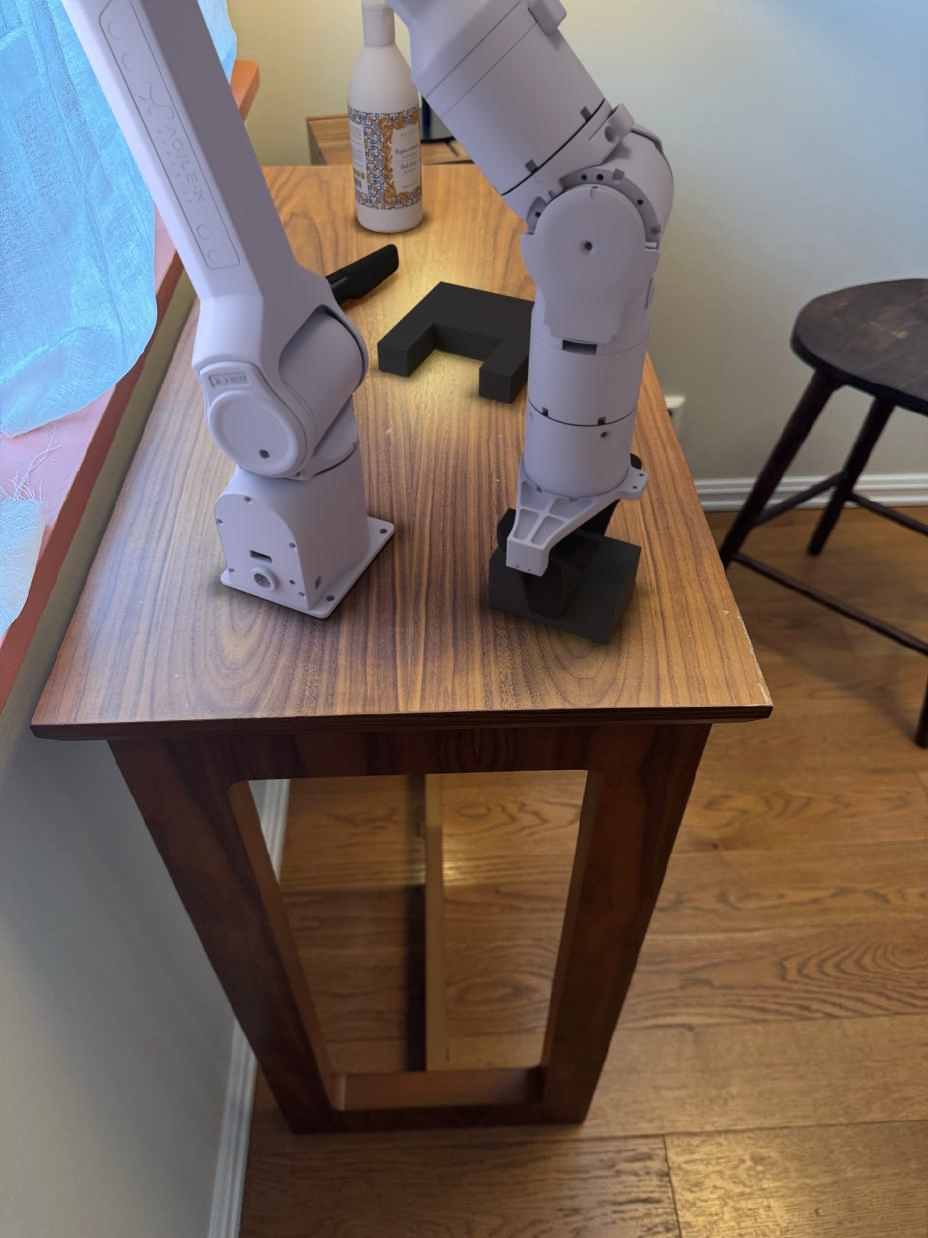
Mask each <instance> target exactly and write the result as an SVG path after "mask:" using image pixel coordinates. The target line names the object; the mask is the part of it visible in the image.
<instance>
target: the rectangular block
mask: <svg viewBox="0 0 928 1238" xmlns="http://www.w3.org/2000/svg"><path fill="white" fill-rule="evenodd" d="M573 533H574V534H578V535H581V536H585V537H588V538H591V539H595V540H598V541H602V544H601V546H600V548H599V550H598V551H597V553H596V555H595V557H594V559H593V560H592V562H591V563H590V564H589V566H588V567H587V568H586V569H585V571H583V572H582V573H581V574H580V575H579V577H578V579H577V582H576V585H575V588H574V592H573V595H572V598H571V601H570V603H569V606H568V608H567V610H566V612H565V613H564V615H563V617H562V619H561V620H560V621H557V620H554V619H550V618H547V617H544V616H541V615H538V614H535V613H532V612H530V610H529V607H528V604H527V601H526V598H525V594H524V590H523V587H522V583H521V580H520V578H519V575H518V572H517V570H516V569H515V568H512V567H509V566H507V565H506V559H507V555H506V553H505V552H504V551H503V550H502V549H501V548H500V547H499V546H498V545H497V547H496V548H495V550H494V551H493V553H492V554H491V556H490V557H489V558H488V582H487V583H488V584H487V585H488V586H487V587H488V588H487V589H488V591H487V592H488V593H487V606H489V607H491V608H494V609H497V610H500V611H502V612H506V613H509V614H512V615H515V616H519V617H522V618H524V619H527V620H530V621H533V622H537V623H539V624H542V625H546V626H549V627H552V628H555V629H557V630H561V631H564V632H567V633H570V634H573V635H577V636H579V637H582V638H586V639H589V640H592V641H595V642H597V643H601V644H604V645H609V644H610V643H611V640H612V638H613V636H614V634H615V632H616V630H617V628H618V625H619V624H620V621H621V619H622V617H623V615H624V613H625V611H626V609H627V606H628V605H629V603H630V600H631V598H632V596H633V595H634V590H635V585H636V579H637V574H638V569H639V564H640V558H641V554H642V546H641V545H637V544H634V543H631V542H628V541H624V540H620V539H617V538H614V537H611V536H607V535H605V536H604V535H600V534H597V533H593V532H590V531H586V530H583V529H580V528H576V529H575V530H573Z"/></svg>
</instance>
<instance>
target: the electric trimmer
mask: <svg viewBox="0 0 928 1238" xmlns="http://www.w3.org/2000/svg"><path fill="white" fill-rule="evenodd" d="M399 267H400V256H399V250H398V247H397V246H396V244H395V243H394V244H393V243H389V244H386V245H385V246H382V247H381V248H379V249H377V250H375V251H373V252H371V253H369V254H367V255H365V256H363V257H361V258H359V259H357V260H355V261H353V262H351V263H350V264H348V265H345V266H343V267H341V268H339V269H337V270H335V271H334V272H332V273H329V274H327V275H326V276H324V277H325V278H326V279H327V280H328V283H329V285H330V288H331V291H332V294H333V296H334V298H335V300H336V302H337V304H338V306H339V307H340V306H341V305H343V304H345V303H346V302H348V301H358V300H361V299H364V297H366V296H367V295H369V294H370V293H371V292H372V291H374V290H375V289H376V288H377V287H379V286H380V285H381V284H382V283H383V282H384V281H386V280H387V279H388V278H389V277H391V276H392V275H393V274H394V273H396V272H397V271H398V269H399Z"/></svg>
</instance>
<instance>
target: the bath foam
mask: <svg viewBox="0 0 928 1238" xmlns="http://www.w3.org/2000/svg"><path fill="white" fill-rule="evenodd" d="M360 5H361V20H362V33H363V46H362V48H361V49H360V52H359V54H358V56H357V58H356V60H355V63H354V65H353V67H352V70H351V72H350V76H349V79H348V80H349V81H348V85H347V103H346V104H347V114H348V125H349V126H348V127H349V138H350V149H351V161H352V162H351V163H352V172H353V183H354V195H355V196H354V197H355V204H356V215H357V220H358V222H359V224H360V225H361V226H362V227H364V228H365V229H367V230H369V231H372V232H377V233H384V234H393V233H401V232H406V231H409V230H411V229H413V228H415V227H417V226H418V225H419V224H420V223H421V221H422V220H423V216H424V210H423V209H424V208H423V204H424V203H423V175H422V174H423V173H422V169H423V168H422V149H421V148H422V143H421V113H420V110H421V109H420V97H419V91H418V90H417V89H416V87H415V86H414V85H413V83H412V78H411V66H410V65H409V63H408V62H407V60H406V58H405V56H404V55H403V53H402V52H401V50H400V48H399V47H398V45H397V44H396V27H395V26H396V25H395V24H396V23H395V12H394V11H393V9H392V8H391V7H390V6H389V5H388V4H387V2H386V1H385V0H361V2H360Z"/></svg>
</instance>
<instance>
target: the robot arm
mask: <svg viewBox="0 0 928 1238" xmlns="http://www.w3.org/2000/svg"><path fill="white" fill-rule="evenodd" d="M60 1H61V4H62V6H63V8H64V10H65V12H66V15H67V17H68V19H69V21H70V23H71V25H72V27H73V30H74V32H75V34H76V36H77V38H78V40H79V43H80V45H81V47H82V49H83V51H84V53H85V56H86V58H87V60H88V62H89V64H90V66H91V69H92V71H93V73H94V75H95V77H96V79H97V81H98V84H99V86H100V87H101V90H102V92H103V95H104V96H105V99H106V101H107V103H108V105H109V107H110V109H111V112H112V114H113V116H114V118H115V121H116V122H117V124H118V126H119V129H120V131H121V133H122V135H123V137H124V140H125V141H126V144H127V147H128V148H129V151H130V153H131V155H132V156H133V159H134V161H135V163H136V166H137V168H138V170H139V172H140V174H141V176H142V178H143V181H144V183H145V185H146V187H147V189H148V192H149V194H150V196H151V198H152V200H153V203H154V205H155V206H156V209H157V211H158V213H159V215H160V218H161V219H162V222H163V224H164V226H165V228H166V230H167V232H168V235H169V237H170V239H171V241H172V244H173V245H174V248H175V250H176V252H177V254H178V256H179V259H180V260H181V263H182V265H183V267H184V270H185V271H186V274H187V276H188V278H189V281H190V282H191V284H192V287H193V289H194V290H195V293H196V296H197V297H198V299H199V302H200V307H199V315H198V321H197V326H196V333H195V338H194V343H193V349H192V350H193V351H192V357H191V366H192V370H193V371H194V374H195V376H196V378H197V379H198V382H199V384H200V386H201V387H200V388H201V390H202V394H203V400H204V402H203V403H204V404H203V405H204V406H203V409H204V410H203V415H204V420H205V424H206V427H207V430H208V432H209V434H210V437H211V438H212V440H213V442H214V443H215V444H216V446H217V447H218V449H220V450H221V451H222V452H223V453H224V455H225V456H226V457H228V458H229V459H230V460H231V461H232V462H233V463H235V468H234V470H233V473H232V476H231V478H230V480H229V481H228V483H227V485H226V487H225V488H224V490H223V491H222V493H221V494H220V495H219V496H218V498H217V500H216V501H215V504H214V508H213V516H214V521H215V526H216V529H217V533H218V537H219V541H220V545H221V548H222V552H223V556H224V560H225V564H226V569H225V570H224V571H223V572H222V573H221V574H220V581H221V583H222V584H223V585H225V586H228V587H230V588H233V589H237V591H238V590H239V591H242V592H244V593H247V594H250V595H252V596H255V597H259V598H262V599H265V600H267V601H270V602H273V603H275V604H278V605H280V606H284V607H287V608H290V609H293V610H296V611H299V612H301V613H304V614H307V615H309V616H313V617H315V618H319V619H326V618H328V617H329V616H330V615H331V614H332V612H333V611H334V610H335V609H336V607H337V606H338V605H339V604H340V602H341V601H342V600H343V598H344V597H345V596H346V595H347V593H348V592H349V591H350V590H351V588H352V587H353V586H354V584H355V583H356V582H357V580H359V578H360V577H361V576H362V574H363V573H364V572H365V570H366V569H367V568H368V567H369V565H370V564H371V562H372V561H374V559H375V558H376V556H377V555H378V554H379V552H380V551H381V550H382V549H383V547H384V546H385V545H386V544H387V542H388V541H389V539H390V538H391V537H392V536H393V535H394V533H395V531H396V530H395V525H394V523H391V522H388V521H386V520H382V519H380V518H376V517H372V516H369V515H368V510H367V500H366V491H365V480H364V472H363V471H364V470H363V462H362V460H363V459H362V451H361V442H360V441H361V440H360V432H359V423H358V421H357V417H356V414H355V411H356V410H355V402H354V401H355V400H354V393H355V392H356V391H357V390H358V389H359V387H360V386H361V385H362V384H363V383H364V381H365V379H366V377H367V375H368V371H369V366H370V362H369V361H370V359H369V358H370V357H369V351H368V347H367V344H366V341H365V339H364V337H363V335H362V333H361V331H360V330H359V328H358V327H357V326H356V324H354V322H353V321H352V319H350V318H349V317H348V316H347V315H346V314H345V312H343V310H342V308H341V307H340V306H338V304H337V302H336V300H335V298H334V296H333V294H332V291H331V288H330V285H329V283H328V280H327V279H326V278H325V276H323V275H322V274H319V273H317V272H316V271H313V270H312V269H310V268H307V267H304V266H303V265H301V264H300V263H298V262H297V260H296V257H295V254H294V251H293V249H292V247H291V244H290V240H289V239H288V236H287V233H286V230H285V227H284V225H283V223H282V220H281V217H280V215H279V212H278V210H277V207H276V204H275V202H274V198H273V197H272V196H273V195H272V194H271V191H270V189H269V185H268V182H267V180H266V177H265V175H264V173H263V170H262V167H261V164H260V162H259V159H258V157H257V154H256V152H255V150H254V149H255V148H254V147H253V144H252V143H253V142H252V141H251V138H250V136H249V135H250V134H249V133H248V130H247V128H246V125H245V122H244V120H243V117H242V114H241V111H240V109H239V107H238V104H237V102H236V98H235V95H234V93H233V91H232V88H231V86H230V83H229V79H228V77H227V75H226V72H225V69H224V67H223V64H222V62H221V59H220V56H219V54H218V51H217V48H216V46H215V44H214V40H213V37H212V35H211V32H210V30H209V27H208V24H207V22H206V19H205V17H204V14H203V11H202V9H201V6H200V4H199V1H198V0H60ZM385 1H386V2H387V4H388V5H389V6H390V7H391V8H392V9H393V11H394V14H395V15H396V16H397V17H398V18H399V19H400V21H402V23H403V24H404V25H405V26H406V28H407V30H408V34H409V35H408V36H409V48H410V69H411V78H412V83H413V85H414V86H415V87H416V89H417V90H418V93H419V94H420V96H421V97H422V98H423V99H425V102H426V103H427V104H428V106H429V107H430V108H431V109H432V110H433V112H434V113H435V114H436V116H437V117H438V118H439V119H440V121H441V122H442V123H443V125H444V126H445V127H446V128H447V130H448V131H449V132H450V134H451V135H452V136H453V138H454V139H455V141H457V143H458V144H459V145H460V146H461V148H462V150H464V151H465V153H466V154H467V156H468V157H469V159H471V161H472V162H473V163H474V165H475V166H476V167H477V168H478V170H479V172H480V173H481V174H482V175H483V176H484V177H485V179H486V181H488V182H489V184H490V185H491V186H492V188H493V189H494V190H495V192H496V193H497V195H499V196H500V198H501V200H502V201H503V202H504V203H505V204H506V206H507V207H508V208H509V210H511V211H512V212H513V213H515V214H516V215H517V216H518V217H519V218H520V219H521V220H522V222H524V223H525V224H526V225H527V226H526V230H525V232H523V233H521V235H520V236H519V245H520V254H521V257H522V261H523V263H524V267H525V269H526V271H527V273H528V275H529V277H530V278H531V279H532V281H533V283H534V284H535V295H534V296H535V297H534V302H535V304H534V306H533V310H532V316H531V334H530V352H529V370H528V381H527V388H526V389H527V390H526V407H525V423H524V441H523V442H524V443H523V451H522V453H521V455H520V458H519V465H518V478H517V492H516V508H511V507H508V508H507V510H505V512H504V514H503V515H502V517H501V518H500V520H499V521H498V523H497V525H496V535H495V536H496V537H495V538H496V544H497V547H498V546H499V547H500V548H501V549H502V550H503V551H504V552H505V553H506V555H507V559H506V565H507V566H509V567H512V568H515V569H516V570H517V572H518V575H519V578H520V580H521V583H522V587H523V590H524V594H525V598H526V601H527V604H528V607H529V610H530V612H532V613H535V614H538V615H541V616H544V617H547V618H550V619H554V620H557V621H560V620H561V619H562V617H563V615H564V613H565V612H566V610H567V608H568V606H569V603H570V601H571V598H572V595H573V592H574V588H575V585H576V582H577V579H578V577H579V575H580V574H581V573H582V572H583V571H585V569H586V568H587V567H588V566H589V564H590V563H591V562H592V560H593V559H594V557H595V555H596V553H597V551H598V550H599V548H600V546H601V544H602V541H598V540H595V539H591V538H588V537H585V536H581V535H578V534H574V533H573V530H575V529H576V528H580V529H583V530H586V531H590V532H593V533H597V534H600V535H604V536H606V533H607V530H608V528H609V525H610V522H611V519H612V517H613V515H614V513H615V511H616V508H617V505H618V504H619V503H620V501H621V500H625V501H628V502H637V501H639V500H640V499H641V498H642V496H643V494H644V493H645V490H646V489H647V486H648V483H649V481H648V480H649V473H647V471H645V470H642V467H643V461H642V459H641V458H640V457H639V456H638V455H636V454H634V453H632V452H631V448H632V442H633V434H634V429H635V422H636V418H637V416H636V415H637V410H638V403H639V399H640V392H641V387H642V379H643V373H644V367H645V361H646V354H647V348H648V342H649V334H650V330H651V323H652V315H651V308H650V306H651V303H652V301H653V297H654V293H655V292H654V291H655V278H654V274H655V272H656V270H657V267H658V265H659V262H660V259H661V258H660V257H661V252H660V251H659V250H660V247H661V243H662V241H663V237H664V234H665V231H666V227H667V224H668V222H669V219H670V217H671V213H672V209H673V203H674V195H675V194H674V193H675V192H674V191H675V182H674V174H673V170H672V167H671V164H670V161H669V159H668V157H667V155H666V154H665V152H664V147H663V142H662V139H661V138H660V137H659V136H658V135H657V134H656V133H654V132H653V131H651V130H650V129H649V128H647V127H646V126H643V125H642V124H639V123H636V122H635V119H634V117H633V116H632V114H631V113H630V111H629V110H628V109H627V107H626V105H625V103H623V102H620V103H619V104H617V105H616V106H615V107H613V106H612V105H611V103H610V102H609V100H608V99H607V98H606V97H605V95H604V94H603V92H602V90H601V89H600V87H599V86H598V84H597V83H596V82H595V80H594V79H593V78H592V76H591V74H590V73H589V72H588V70H587V69H586V67H585V66H584V64H583V63H582V61H581V60H580V58H579V57H578V56H577V53H575V51H574V50H573V48H572V47H571V46H570V44H569V43H568V41H567V40H566V38H565V37H564V35H563V33H562V32H561V31H560V29H559V26H561V24H562V23H563V21H564V20H565V19H566V18H567V9H566V8H565V7H564V5H563V4H562V2H561V1H560V0H385Z"/></svg>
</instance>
